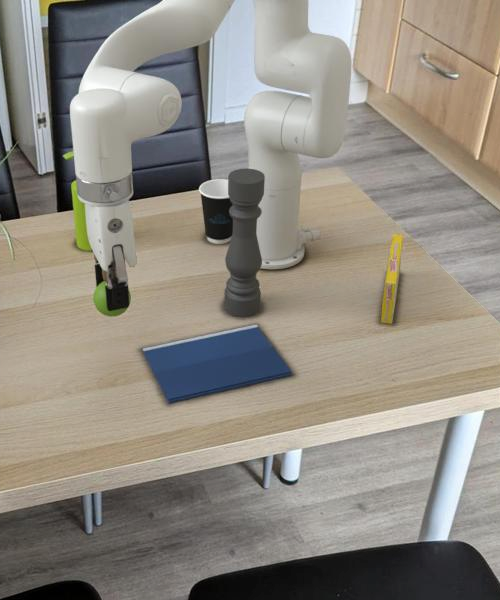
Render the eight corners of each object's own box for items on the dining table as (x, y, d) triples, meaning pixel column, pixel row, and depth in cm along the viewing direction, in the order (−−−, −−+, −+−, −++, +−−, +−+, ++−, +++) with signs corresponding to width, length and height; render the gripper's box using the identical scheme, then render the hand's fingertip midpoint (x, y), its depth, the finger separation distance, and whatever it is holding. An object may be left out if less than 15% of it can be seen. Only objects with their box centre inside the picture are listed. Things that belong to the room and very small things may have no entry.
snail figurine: (134, 299, 125) (130, 230, 118) (129, 324, 120) (124, 254, 113) (98, 298, 126) (93, 229, 119) (92, 323, 121) (85, 253, 114)
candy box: (387, 272, 151) (392, 232, 147) (399, 274, 151) (405, 234, 146) (378, 322, 139) (384, 281, 134) (392, 324, 138) (398, 282, 133)
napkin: (255, 325, 140) (255, 322, 140) (291, 375, 129) (292, 372, 128) (142, 350, 136) (141, 346, 136) (168, 403, 125) (168, 399, 124)
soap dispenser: (67, 241, 167) (58, 149, 156) (98, 233, 170) (91, 141, 158) (78, 254, 163) (69, 160, 152) (110, 245, 165) (104, 152, 154)
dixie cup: (213, 252, 161) (213, 201, 155) (191, 235, 167) (191, 185, 161) (247, 240, 164) (249, 190, 158) (224, 224, 170) (225, 175, 163)
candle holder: (258, 318, 142) (265, 185, 128) (222, 315, 143) (224, 184, 129) (261, 298, 147) (267, 168, 133) (225, 296, 148) (228, 167, 134)
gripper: (150, 207, 104) (154, 324, 115) (115, 154, 118) (121, 263, 128) (92, 217, 103) (102, 335, 113) (63, 163, 117) (74, 272, 127)
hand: (112, 296), depth 121 cm, fingers closed on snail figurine, 5 cm apart
